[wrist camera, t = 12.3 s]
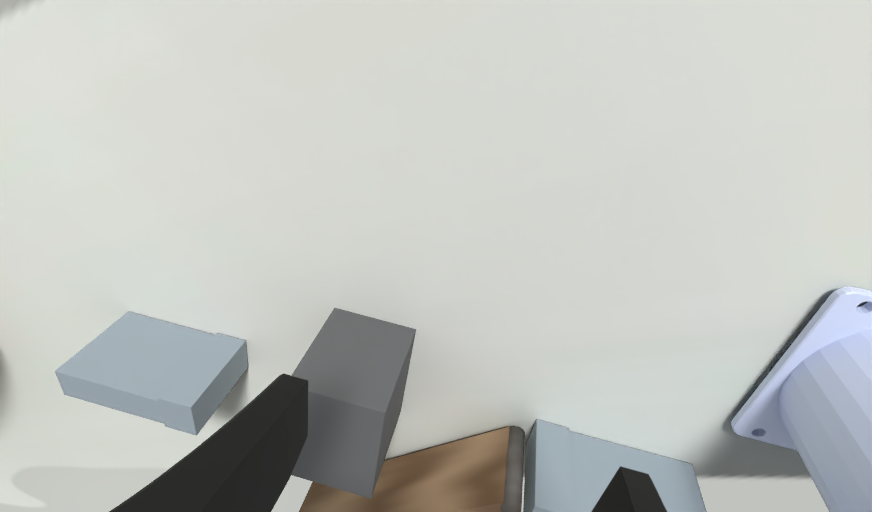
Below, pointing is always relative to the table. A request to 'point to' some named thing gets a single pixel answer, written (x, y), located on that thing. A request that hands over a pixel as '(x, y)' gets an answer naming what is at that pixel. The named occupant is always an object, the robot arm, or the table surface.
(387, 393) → the grey rectangular prism
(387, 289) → the table surface
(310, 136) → the table surface
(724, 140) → the table surface
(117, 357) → the wall frame
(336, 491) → the door
